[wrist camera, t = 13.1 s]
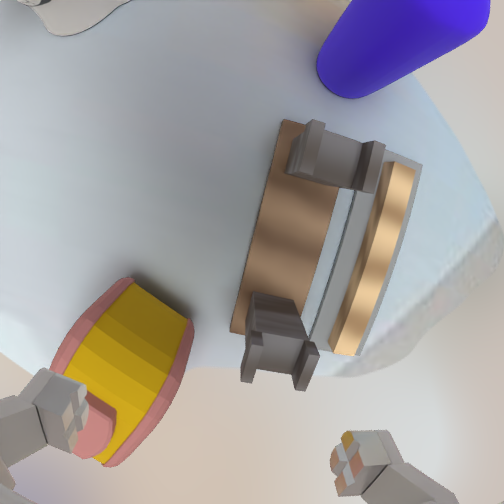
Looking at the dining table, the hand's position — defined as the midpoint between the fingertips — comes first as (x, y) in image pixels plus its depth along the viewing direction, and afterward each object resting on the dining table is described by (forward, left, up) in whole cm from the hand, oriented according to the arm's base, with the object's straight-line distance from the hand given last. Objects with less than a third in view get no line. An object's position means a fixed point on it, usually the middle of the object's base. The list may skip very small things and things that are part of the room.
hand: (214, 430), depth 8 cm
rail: (-1, +16, -29) cm, 33 cm away
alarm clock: (+17, -10, -30) cm, 36 cm away
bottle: (-23, +8, -30) cm, 39 cm away
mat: (-1, +16, -30) cm, 34 cm away
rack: (-1, +6, -30) cm, 30 cm away
